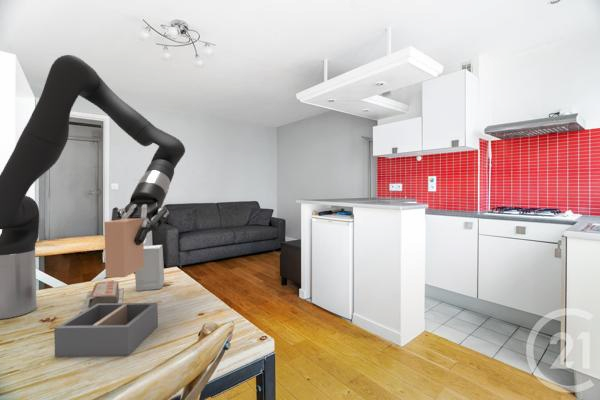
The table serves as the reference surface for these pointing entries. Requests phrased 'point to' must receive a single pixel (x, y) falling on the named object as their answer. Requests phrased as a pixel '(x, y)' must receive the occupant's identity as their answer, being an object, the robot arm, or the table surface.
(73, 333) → the grey open tray
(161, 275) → the skincare box
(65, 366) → the table surface
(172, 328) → the table surface
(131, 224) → the salmon rectangular block
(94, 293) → the packaged product
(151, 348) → the table surface
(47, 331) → the table surface
